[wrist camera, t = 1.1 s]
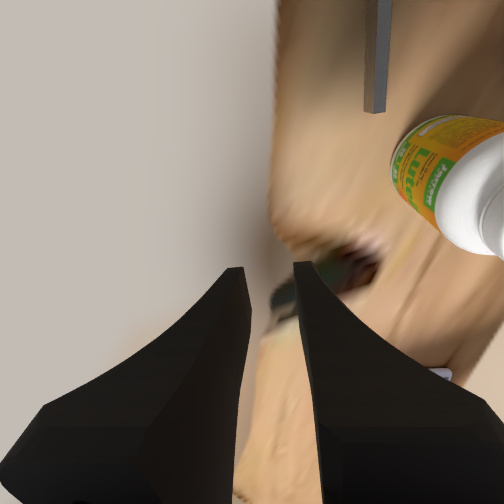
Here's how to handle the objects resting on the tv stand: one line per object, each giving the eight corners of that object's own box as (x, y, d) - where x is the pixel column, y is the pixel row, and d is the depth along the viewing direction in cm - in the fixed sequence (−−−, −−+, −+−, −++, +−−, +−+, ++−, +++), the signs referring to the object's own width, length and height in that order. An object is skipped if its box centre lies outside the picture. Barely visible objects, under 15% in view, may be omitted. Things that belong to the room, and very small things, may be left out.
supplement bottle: (383, 131, 17) (482, 172, 9) (484, 99, 16) (711, 111, 8) (392, 212, 20) (475, 304, 11) (480, 189, 18) (649, 274, 10)
